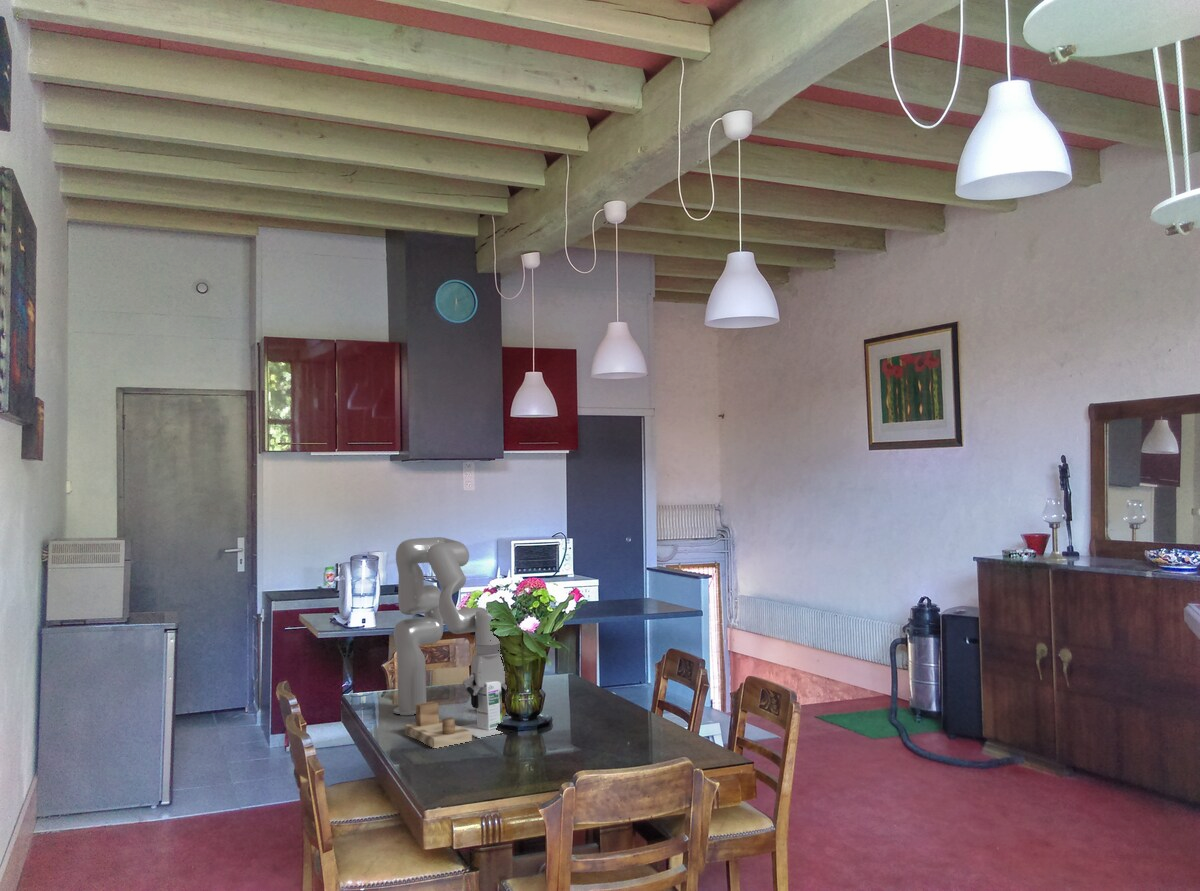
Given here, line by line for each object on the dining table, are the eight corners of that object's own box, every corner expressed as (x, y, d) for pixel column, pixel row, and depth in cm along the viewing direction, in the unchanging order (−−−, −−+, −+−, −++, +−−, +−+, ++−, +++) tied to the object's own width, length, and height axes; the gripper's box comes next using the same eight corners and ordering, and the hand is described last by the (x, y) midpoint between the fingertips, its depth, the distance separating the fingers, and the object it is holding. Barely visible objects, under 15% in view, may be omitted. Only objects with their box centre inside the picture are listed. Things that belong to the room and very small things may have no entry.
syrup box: (488, 730, 288) (487, 683, 289) (476, 728, 293) (475, 680, 293) (503, 727, 293) (501, 680, 293) (491, 724, 297) (489, 677, 297)
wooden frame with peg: (405, 734, 290) (404, 705, 290) (441, 728, 296) (440, 699, 297) (434, 748, 271) (433, 717, 272) (471, 741, 278) (471, 711, 279)
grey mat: (455, 729, 295) (455, 727, 295) (501, 721, 304) (501, 719, 304) (478, 738, 281) (478, 736, 281) (525, 730, 290) (524, 728, 290)
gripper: (506, 645, 302) (508, 699, 301) (457, 651, 292) (458, 707, 291) (518, 648, 296) (519, 703, 295) (467, 654, 286) (469, 711, 285)
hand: (489, 705), depth 293 cm, fingers open, 9 cm apart
